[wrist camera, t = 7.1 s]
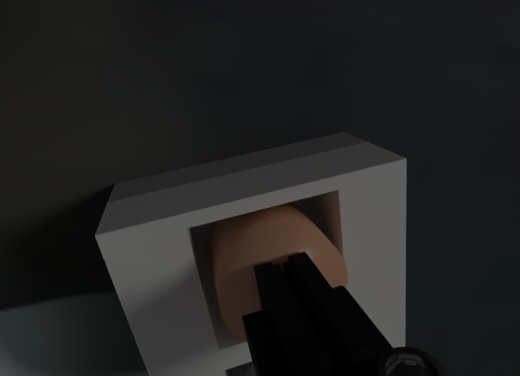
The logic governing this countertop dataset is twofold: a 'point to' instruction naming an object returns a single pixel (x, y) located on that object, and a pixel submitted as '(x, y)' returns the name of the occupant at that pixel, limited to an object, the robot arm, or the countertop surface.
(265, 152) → the panel
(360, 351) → the robot arm
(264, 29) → the countertop surface
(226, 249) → the terracotta button
